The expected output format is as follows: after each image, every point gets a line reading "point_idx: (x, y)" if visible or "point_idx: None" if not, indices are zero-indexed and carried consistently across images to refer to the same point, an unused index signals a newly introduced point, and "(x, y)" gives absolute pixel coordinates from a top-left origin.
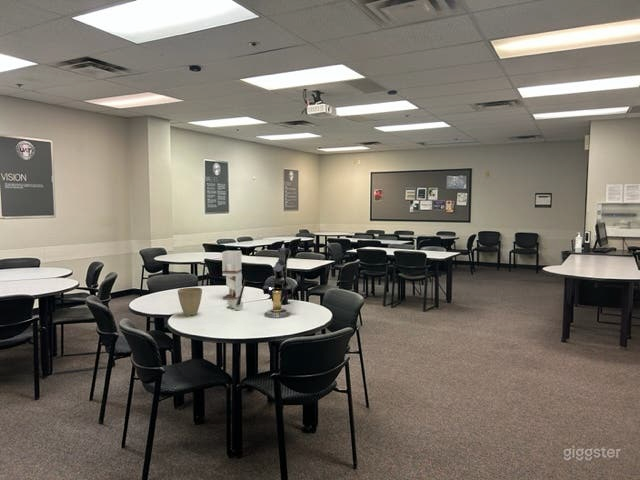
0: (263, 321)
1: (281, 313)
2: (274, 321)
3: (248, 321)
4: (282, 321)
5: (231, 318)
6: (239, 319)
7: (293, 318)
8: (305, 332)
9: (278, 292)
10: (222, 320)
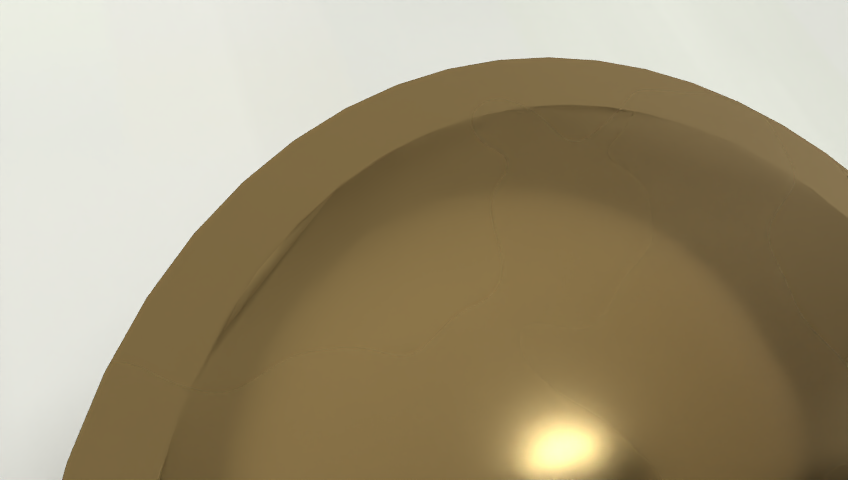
0: (439, 42)
1: None
2: (308, 55)
3: (591, 27)
4: (199, 65)
5: (809, 114)
6: (717, 88)
7: (44, 249)
8: None
9: (347, 146)
10: (824, 37)
